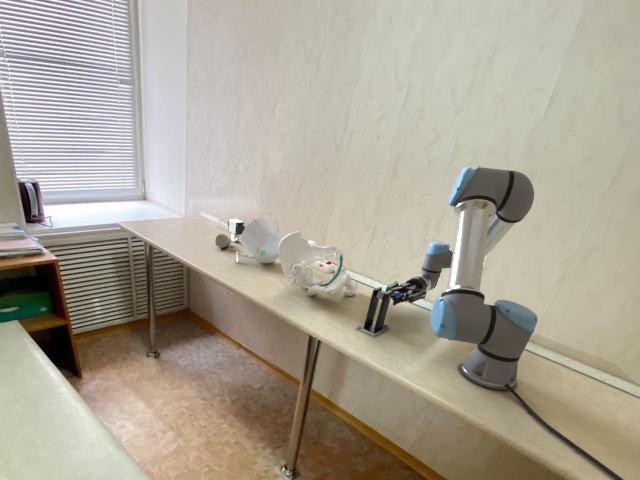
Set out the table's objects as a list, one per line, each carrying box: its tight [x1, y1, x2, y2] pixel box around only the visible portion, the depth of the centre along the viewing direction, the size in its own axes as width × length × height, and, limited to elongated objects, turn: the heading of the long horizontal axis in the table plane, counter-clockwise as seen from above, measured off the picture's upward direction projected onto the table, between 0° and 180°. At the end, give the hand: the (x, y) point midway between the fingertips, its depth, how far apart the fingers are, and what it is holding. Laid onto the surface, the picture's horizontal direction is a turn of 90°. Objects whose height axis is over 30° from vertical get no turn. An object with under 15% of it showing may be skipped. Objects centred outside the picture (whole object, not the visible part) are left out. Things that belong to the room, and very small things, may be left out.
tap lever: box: [376, 290, 401, 302], centre depth 147 cm, size 16×4×4 cm, turn 137°
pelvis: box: [278, 230, 359, 297], centre depth 170 cm, size 35×23×30 cm
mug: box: [214, 233, 232, 249], centre depth 216 cm, size 8×10×10 cm
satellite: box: [235, 212, 286, 264], centre depth 198 cm, size 23×20×25 cm
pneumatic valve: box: [227, 218, 246, 243], centre depth 225 cm, size 6×12×12 cm, turn 30°
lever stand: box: [357, 286, 393, 335], centre depth 145 cm, size 10×7×15 cm
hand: (389, 299), depth 148 cm, fingers closed on tap lever, 4 cm apart
